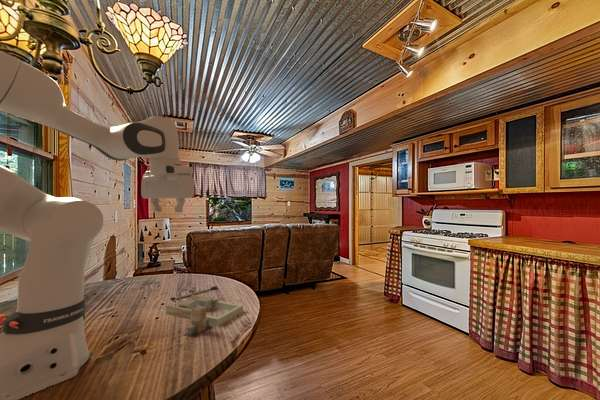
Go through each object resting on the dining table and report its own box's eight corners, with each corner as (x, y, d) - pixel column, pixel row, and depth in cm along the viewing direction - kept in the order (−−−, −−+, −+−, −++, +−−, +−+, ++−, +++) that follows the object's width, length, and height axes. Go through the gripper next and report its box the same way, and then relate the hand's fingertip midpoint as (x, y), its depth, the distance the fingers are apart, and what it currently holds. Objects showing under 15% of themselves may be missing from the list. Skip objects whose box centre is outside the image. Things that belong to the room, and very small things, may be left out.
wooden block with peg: (192, 336, 72) (193, 313, 73) (185, 334, 74) (186, 311, 74) (210, 326, 79) (211, 304, 79) (203, 324, 80) (204, 303, 80)
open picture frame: (217, 327, 79) (218, 319, 79) (190, 320, 84) (191, 313, 84) (242, 312, 91) (243, 305, 91) (218, 307, 95) (218, 300, 95)
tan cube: (186, 316, 87) (186, 304, 87) (178, 314, 89) (178, 303, 89) (195, 312, 91) (196, 301, 91) (187, 310, 92) (187, 299, 92)
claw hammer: (176, 306, 99) (176, 303, 99) (169, 300, 103) (169, 297, 103) (223, 292, 115) (224, 289, 115) (215, 287, 120) (215, 285, 120)
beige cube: (204, 312, 90) (204, 301, 90) (195, 311, 92) (196, 299, 92) (212, 309, 94) (212, 297, 94) (204, 307, 96) (204, 296, 96)
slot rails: (191, 320, 84) (191, 311, 84) (165, 314, 89) (165, 305, 89) (217, 307, 95) (217, 299, 95) (193, 302, 100) (193, 294, 100)
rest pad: (193, 339, 72) (193, 337, 72) (182, 336, 73) (182, 334, 73) (213, 327, 79) (213, 326, 79) (203, 324, 81) (203, 323, 81)
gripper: (134, 170, 83) (137, 212, 84) (180, 167, 75) (183, 213, 76) (152, 171, 89) (154, 210, 90) (196, 168, 81) (199, 211, 82)
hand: (168, 212), depth 83 cm, fingers open, 8 cm apart
